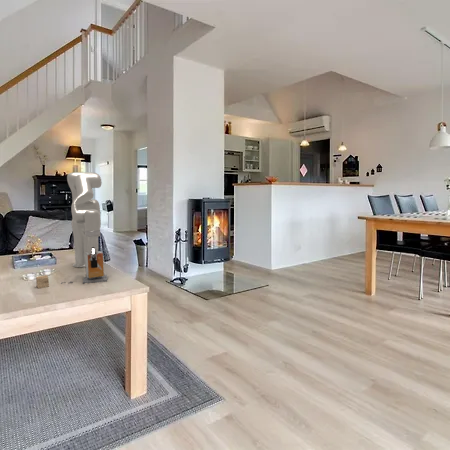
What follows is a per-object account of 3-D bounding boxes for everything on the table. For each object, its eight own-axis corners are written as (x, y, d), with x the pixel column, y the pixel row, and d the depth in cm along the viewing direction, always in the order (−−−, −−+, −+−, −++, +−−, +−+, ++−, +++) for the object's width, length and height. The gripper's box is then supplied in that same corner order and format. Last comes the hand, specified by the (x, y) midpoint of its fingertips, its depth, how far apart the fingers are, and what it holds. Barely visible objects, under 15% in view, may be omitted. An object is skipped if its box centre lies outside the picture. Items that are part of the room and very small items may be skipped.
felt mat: (84, 278, 191) (83, 276, 191) (106, 275, 195) (106, 274, 195) (82, 283, 180) (82, 282, 180) (107, 281, 184) (107, 280, 184)
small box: (88, 278, 183) (87, 254, 181) (86, 275, 188) (84, 252, 186) (104, 276, 187) (103, 252, 186) (101, 273, 192) (100, 250, 191)
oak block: (36, 286, 176) (36, 276, 176) (47, 284, 179) (46, 275, 178) (37, 288, 172) (37, 278, 171) (49, 286, 175) (48, 277, 174)
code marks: (61, 282, 182) (61, 282, 182) (73, 281, 184) (73, 281, 184) (60, 283, 180) (60, 283, 180) (73, 282, 182) (73, 282, 182)
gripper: (86, 232, 192) (87, 263, 194) (84, 236, 175) (86, 270, 177) (100, 231, 194) (101, 262, 196) (100, 235, 178) (101, 268, 180)
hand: (94, 265), depth 187 cm, fingers closed on small box, 7 cm apart
